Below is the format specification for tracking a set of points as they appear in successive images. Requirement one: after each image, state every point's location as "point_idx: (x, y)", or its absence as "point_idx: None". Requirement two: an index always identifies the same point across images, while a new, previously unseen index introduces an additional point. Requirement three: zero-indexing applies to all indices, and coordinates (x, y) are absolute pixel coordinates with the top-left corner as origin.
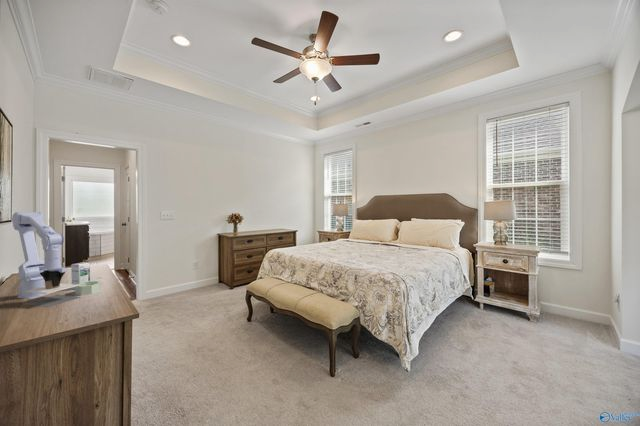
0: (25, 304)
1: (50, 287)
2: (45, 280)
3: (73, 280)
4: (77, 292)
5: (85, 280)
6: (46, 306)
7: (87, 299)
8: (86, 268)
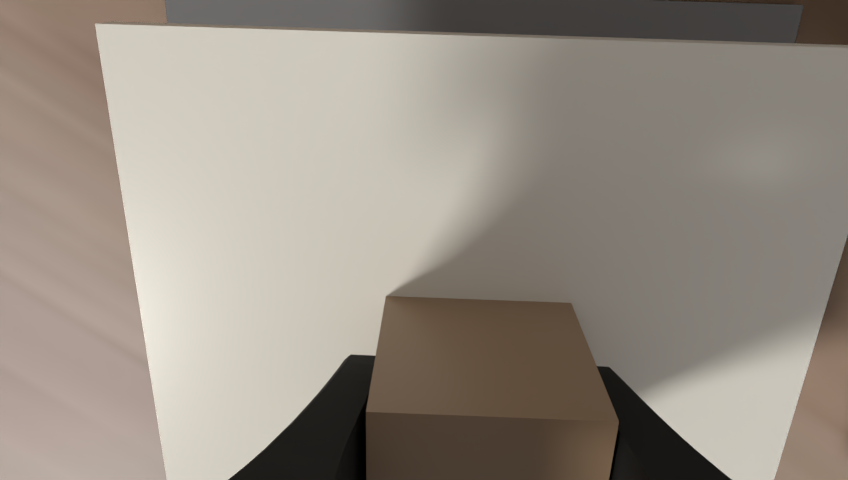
0: (715, 3)
1: (410, 315)
2: (652, 452)
3: None
4: None
5: None
6: (229, 6)
7: (63, 393)
8: None
